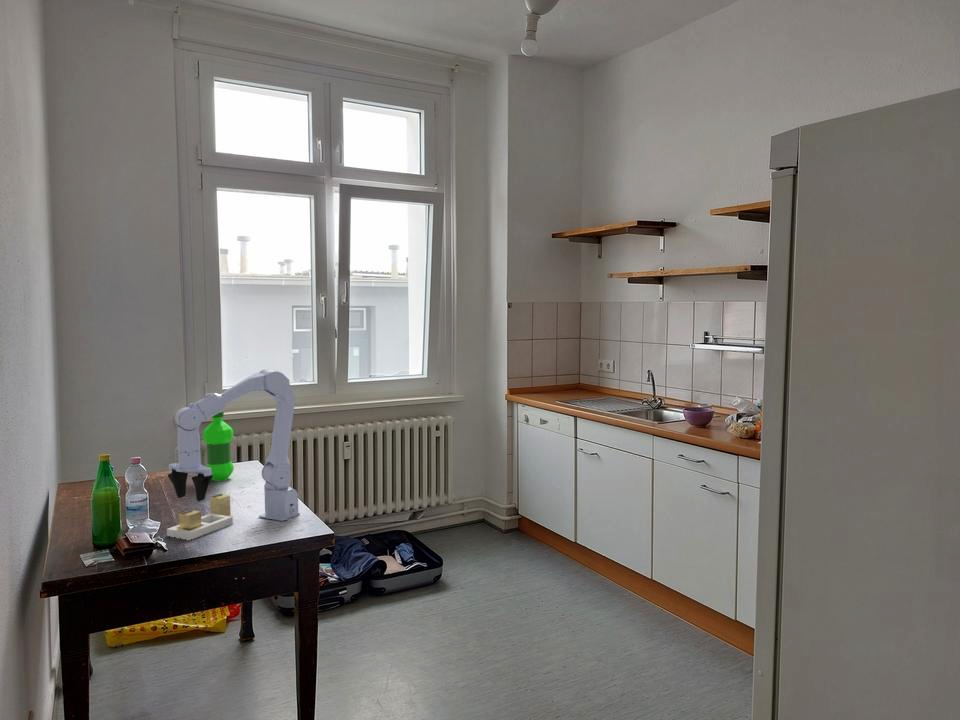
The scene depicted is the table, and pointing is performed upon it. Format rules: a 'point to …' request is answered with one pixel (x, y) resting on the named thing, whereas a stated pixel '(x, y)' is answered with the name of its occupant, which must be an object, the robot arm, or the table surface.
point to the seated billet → (190, 520)
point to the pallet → (205, 528)
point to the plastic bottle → (219, 447)
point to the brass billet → (220, 504)
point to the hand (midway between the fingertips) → (191, 498)
